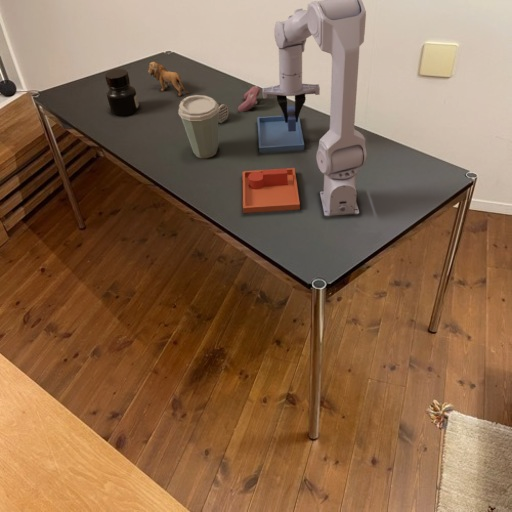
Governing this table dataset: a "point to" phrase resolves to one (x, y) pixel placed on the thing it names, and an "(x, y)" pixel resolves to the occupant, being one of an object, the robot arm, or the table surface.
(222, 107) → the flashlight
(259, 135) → the blue tray
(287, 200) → the terracotta tray
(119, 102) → the ink bottle
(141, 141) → the table surface
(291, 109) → the blue round-ended block
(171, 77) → the lion figurine
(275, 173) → the red round-ended block
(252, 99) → the pink shoe
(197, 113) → the disposable coffee cup
